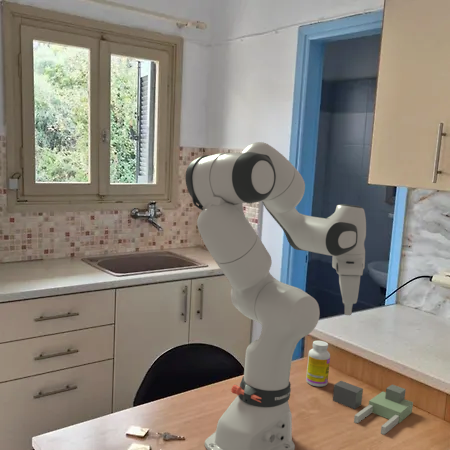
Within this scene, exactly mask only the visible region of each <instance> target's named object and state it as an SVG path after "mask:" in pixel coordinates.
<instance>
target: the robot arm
mask: <svg viewBox="0 0 450 450" xmlns="http://www.w3.org/2000/svg"><path fill="white" fill-rule="evenodd" d="M184 177H185V186H186V188H187V192H188V194H189V195H190V197H191V198H192V203H193V204H194V206H195V207H196V208H198V209H200V210H201V211H200V213H199V214H198V217H197V219H196V220H197V221H196V224H197V226H196V227H197V230H198V232H199V236H200V237H201V239H202V241H203V243H204V245H205V248H206V249H207V251H208V252H209V254H210V256H211V258H213V261H214V262H215V263H216V264H217V266H218V268H219V269H220V270H221V272H222V274H223V275H224V276H225V278H226V280H228V282H229V285H230V286H231V289H230V301H231V304H232V306H233V307H234V308H235V309H236V310H238V312H240V314H242V315H243V316H244V317H246V318H248V319H249V320H252V321H254V322H255V323H256V322H257V323H258V324H261V332H260V336H259V337H258V339H256V340H254V341H252V342H250V343H249V344H248V345H247V348H246V350H245V356H244V357H245V359H244V371H243V376H242V377H241V378H242V379H241V381H240V382H239V386H238V385H237V384H233V385H232V387H231V389H230V390H231V391H230V392H231V393H232V394H235V395H237V396H236V397H235V398H234V400H233V401H232V402H231V404H230V405H229V406H228V407H227V409H226V410H225V411H224V412H223V414H222V415H221V416H220V418H219V419H218V421H217V425H216V429H215V431H214V432H213V433H212V434H211V435H209V436H208V437H206V439H205V440H204V446H205V448H206V450H295V449H296V445H295V443H294V442H293V439H292V438H293V437H292V435H293V433H292V432H293V431H292V430H293V428H292V427H293V425H292V419H293V417H292V416H293V415H292V411H291V409H290V403H289V400H290V396H291V390H292V388H291V385H292V384H291V381H290V375H291V367H292V362H293V361H292V360H293V355H294V352H295V350H296V347H297V345H298V343H299V342H300V340H302V338H303V339H304V337H306V336H308V335H309V334H311V333H312V332H313V331H314V330H315V328H316V327H317V325H318V323H319V320H320V315H321V314H320V306H319V303H318V301H317V299H315V298H314V297H313V296H311V295H310V294H308V292H306V291H305V290H303V289H302V288H300V287H296V286H293V285H290V284H288V283H285V282H282V281H280V280H278V279H276V278H275V277H274V276H273V275H272V274H271V273H270V270H271V267H272V256H271V255H270V254H271V253H270V252H269V251H268V249H267V248H266V246H265V245H264V243H263V241H262V239H261V238H260V237H259V235H258V233H257V232H256V230H255V229H254V226H252V224H251V223H250V222H249V220H248V219H247V217H246V215H245V211H244V207H243V204H254V203H259V202H262V205H263V207H264V208H265V209H266V211H267V212H268V213H269V215H270V216H271V218H272V219H274V221H275V222H276V223H277V225H278V226H279V227H280V228H281V229H282V231H283V232H284V235H285V237H286V240H287V242H288V243H289V246H290V247H291V248H293V249H294V250H296V251H303V252H310V253H311V252H312V253H315V254H321V255H326V256H332V259H331V260H332V262H331V266H332V268H333V269H335V270H336V273H337V274H338V283H339V289H340V294H341V299H342V304H343V305H344V315H345V316H352V311H353V305H355V304H357V302H358V298H359V291H360V284H361V276H363V274H364V269H365V267H366V266H365V265H366V264H365V263H366V249H365V241H366V237H367V220H366V219H367V218H366V212H365V209H364V208H363V207H362V206H360V205H354V204H353V205H352V204H347V203H340V204H337V205H336V208H335V211H334V213H332V214H331V215H330V216H328V217H326V218H324V217H317V216H311V215H307V214H303V213H300V212H298V211H299V210H297V208H296V207H297V206H298V205H299V203H300V202H301V201H302V199H303V197H304V195H305V192H306V191H305V190H306V182H305V180H304V178H303V176H302V174H301V173H300V171H298V169H297V168H296V167H295V166H294V165H293V163H292V162H290V160H288V159H287V158H286V157H285V156H284V155H283V154H282V153H281V152H280V151H278V150H277V149H276V148H275V147H273V146H271V145H270V144H268V143H266V142H264V141H263V142H262V141H256V142H253V143H251V144H249V145H247V146H246V147H244V149H243V150H242V151H241V152H222V153H221V152H220V153H215V154H214V153H213V154H211V155H209V154H207V155H203V156H202V155H201V156H199V157H198V158H195V159H194V160H193V161H191V162H190V163H189V164H188V166H187V168H186V170H185V176H184Z"/></svg>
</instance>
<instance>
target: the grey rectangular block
mask: <svg viewBox="0 0 450 450" xmlns="http://www.w3.org/2000/svg"><path fill="white" fill-rule="evenodd" d="M363 392H364V389H363V388H362V387H360V386H357V385H354V384H351V383H348V382H347V381H343V380H339V381H338V382H336V383H334V384H333V394H332V402H336V403H337V402H338V404H340V405H342V404H343V405H342V406H345V407H347V406H348V407H347V408H350V409H352V408H353V410H356V409H357V408H360V407H361V406H362V401H363V400H362V399H363ZM360 405H361V406H360Z"/></svg>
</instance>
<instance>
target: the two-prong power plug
mask: <svg viewBox="0 0 450 450" xmlns="http://www.w3.org/2000/svg"><path fill="white" fill-rule="evenodd" d="M405 396H406V388H403V387H400V386H398V385H396V384H390V385H389V386H387V387H386V390H385V391H381V392H380V393H378V394H377V395H375V396H373V397H372V398H371V399H369V400H368V405H366V406H365V407H363V409H361V410H360V411H359V412H357V413H355V414H354V418H353V419H354V420H353V423H355V424H357V423H358V424H359V423H360V422H362V421H363V420H364V419H366V418H367V417H368V416H369V415H371V414H372V413H373V414H374V415H377V416H380V417H382V418H385V419H388V420H387V421H386V422H385V423H384V424H382V425H381V427H380V434H381V435H384V436H385V435H386V434H387V433H388V432H390V431H391V430H392V429H393V428H394V427H395V426H396V425H398V424H400V423H401V422H403V421H404V420H405V419H406V418H408V417H409V415H411V414H412V413H413V408H414V407H413V405H414V402H413V401H411V400H407V399H405V398H406V397H405ZM365 417H366V418H365ZM361 420H362V421H361Z"/></svg>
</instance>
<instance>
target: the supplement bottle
mask: <svg viewBox="0 0 450 450" xmlns="http://www.w3.org/2000/svg"><path fill="white" fill-rule="evenodd" d="M328 348H329V343H328V342H326V341H325V340H314V341H313V342H312V348H311V349H309V351H308V356H307V357H308V358H307V367H306V377H305V381H306V383H307V384H308V385H310V386H312V387H325V386H327V385H328V381H329V371H330V364H331V363H330V362H331V353H330V351H329V350H328Z"/></svg>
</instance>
